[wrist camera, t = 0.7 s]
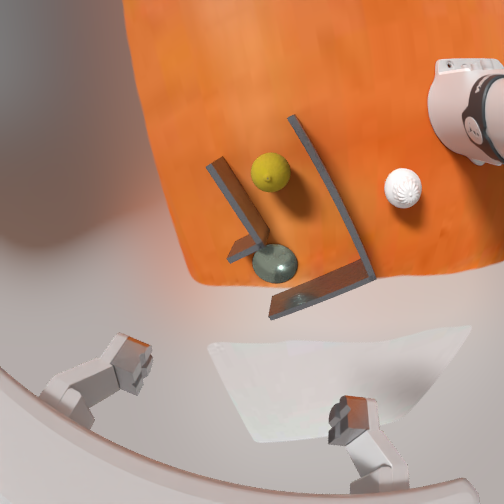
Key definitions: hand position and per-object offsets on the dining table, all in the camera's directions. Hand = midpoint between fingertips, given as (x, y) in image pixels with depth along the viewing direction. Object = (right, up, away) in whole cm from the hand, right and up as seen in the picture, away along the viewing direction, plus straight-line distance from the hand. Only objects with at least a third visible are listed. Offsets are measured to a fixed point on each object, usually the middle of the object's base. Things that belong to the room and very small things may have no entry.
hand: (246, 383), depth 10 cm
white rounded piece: (+23, +16, +29) cm, 40 cm away
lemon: (+4, +18, +32) cm, 37 cm away
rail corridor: (+6, +11, +35) cm, 37 cm away
